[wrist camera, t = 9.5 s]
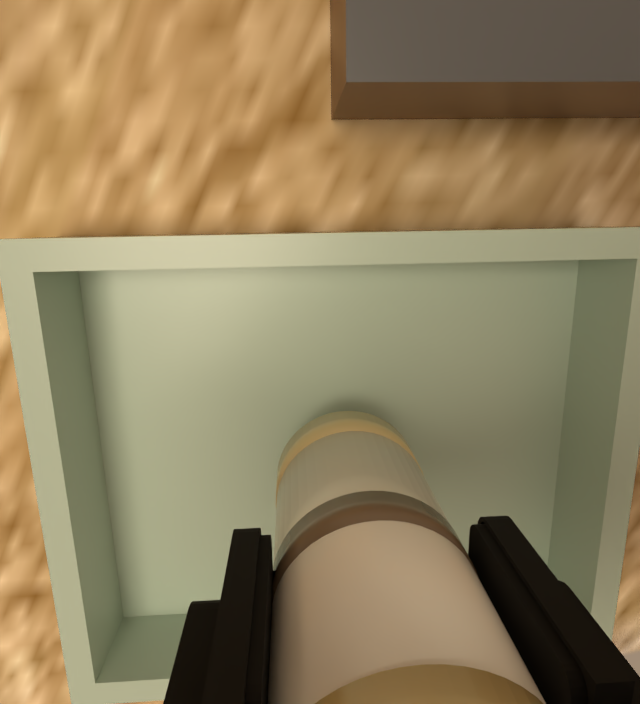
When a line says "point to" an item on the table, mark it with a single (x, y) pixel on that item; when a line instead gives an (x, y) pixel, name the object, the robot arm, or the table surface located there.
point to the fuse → (377, 581)
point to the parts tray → (311, 403)
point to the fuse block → (485, 59)
